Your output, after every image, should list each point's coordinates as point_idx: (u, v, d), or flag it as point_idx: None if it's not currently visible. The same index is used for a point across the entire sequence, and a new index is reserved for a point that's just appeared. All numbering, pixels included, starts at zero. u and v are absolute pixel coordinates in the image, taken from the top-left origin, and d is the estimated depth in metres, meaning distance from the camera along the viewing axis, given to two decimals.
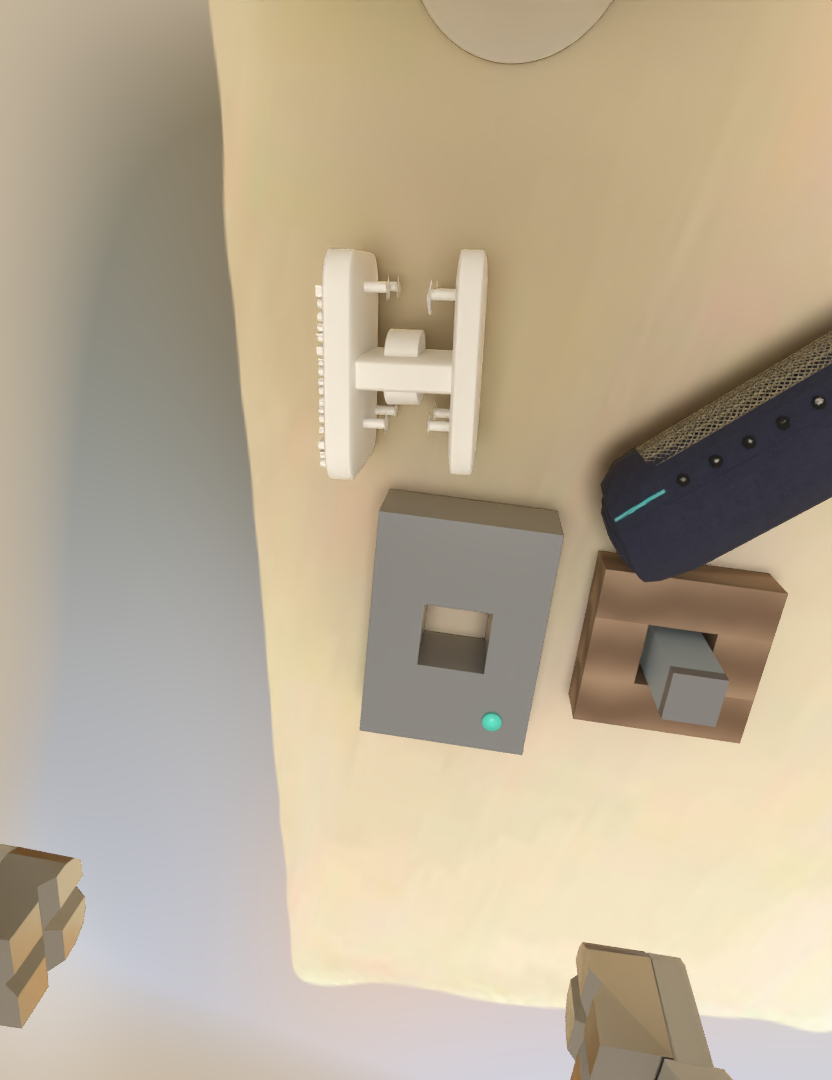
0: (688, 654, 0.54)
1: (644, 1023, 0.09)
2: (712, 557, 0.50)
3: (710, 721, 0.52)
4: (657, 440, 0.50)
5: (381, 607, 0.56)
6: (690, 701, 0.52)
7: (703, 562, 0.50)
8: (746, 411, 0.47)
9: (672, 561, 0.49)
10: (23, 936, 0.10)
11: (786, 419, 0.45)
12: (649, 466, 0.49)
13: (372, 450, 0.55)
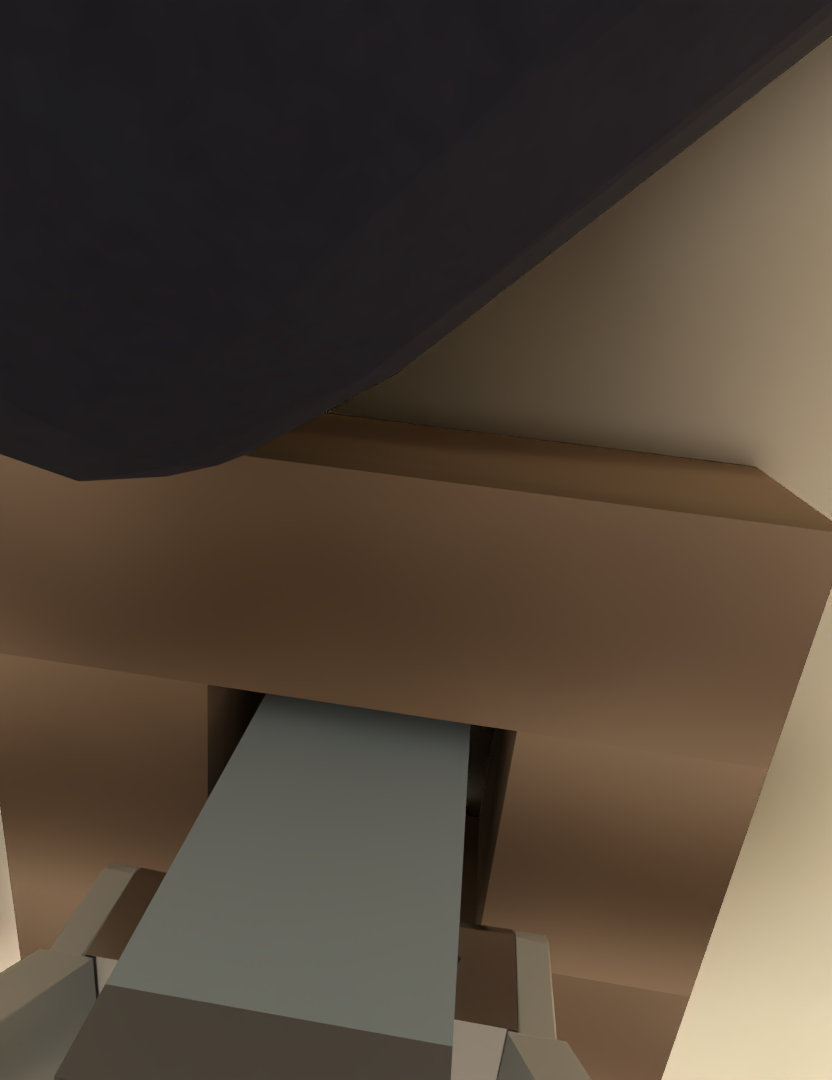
0: (313, 859, 0.10)
1: (495, 997, 0.10)
2: (369, 182, 0.06)
3: None
4: None
5: None
6: None
7: (300, 238, 0.06)
8: None
9: None
10: None
11: None
12: None
13: None
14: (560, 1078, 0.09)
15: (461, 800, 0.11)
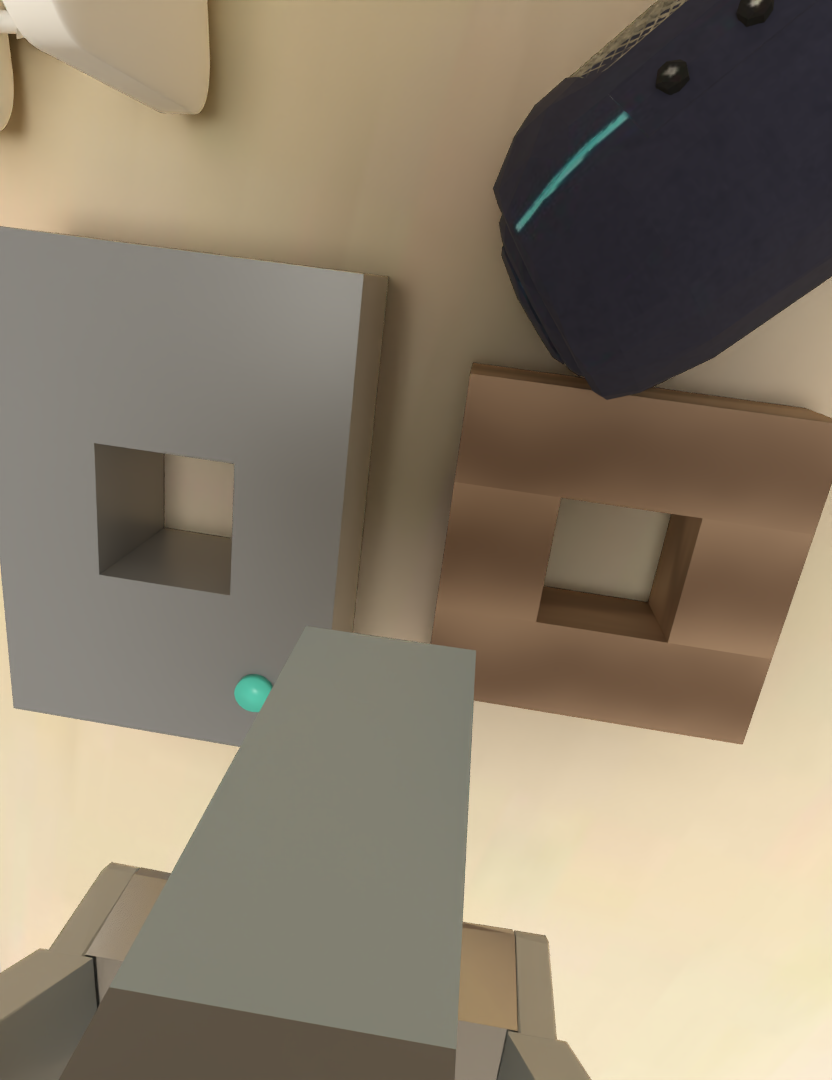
0: (316, 862, 0.10)
1: (495, 997, 0.10)
2: (754, 302, 0.21)
3: None
4: None
5: (11, 450, 0.27)
6: None
7: (732, 316, 0.21)
8: None
9: (658, 308, 0.20)
10: None
11: None
12: (589, 82, 0.20)
13: None
14: (560, 1078, 0.09)
15: (463, 802, 0.11)
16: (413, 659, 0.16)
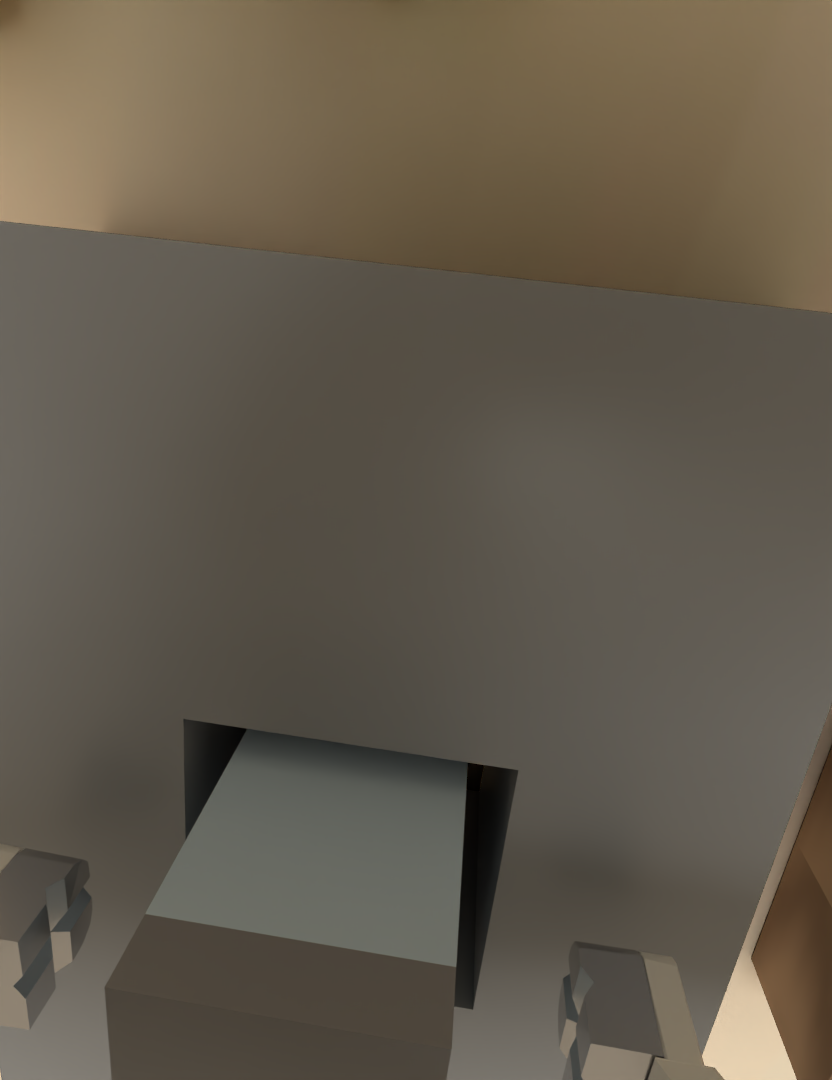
0: (328, 812, 0.11)
1: (635, 1021, 0.09)
2: None
3: None
4: None
5: None
6: None
7: None
8: None
9: None
10: (31, 937, 0.10)
11: None
12: None
13: None
14: None
15: (463, 763, 0.12)
16: None
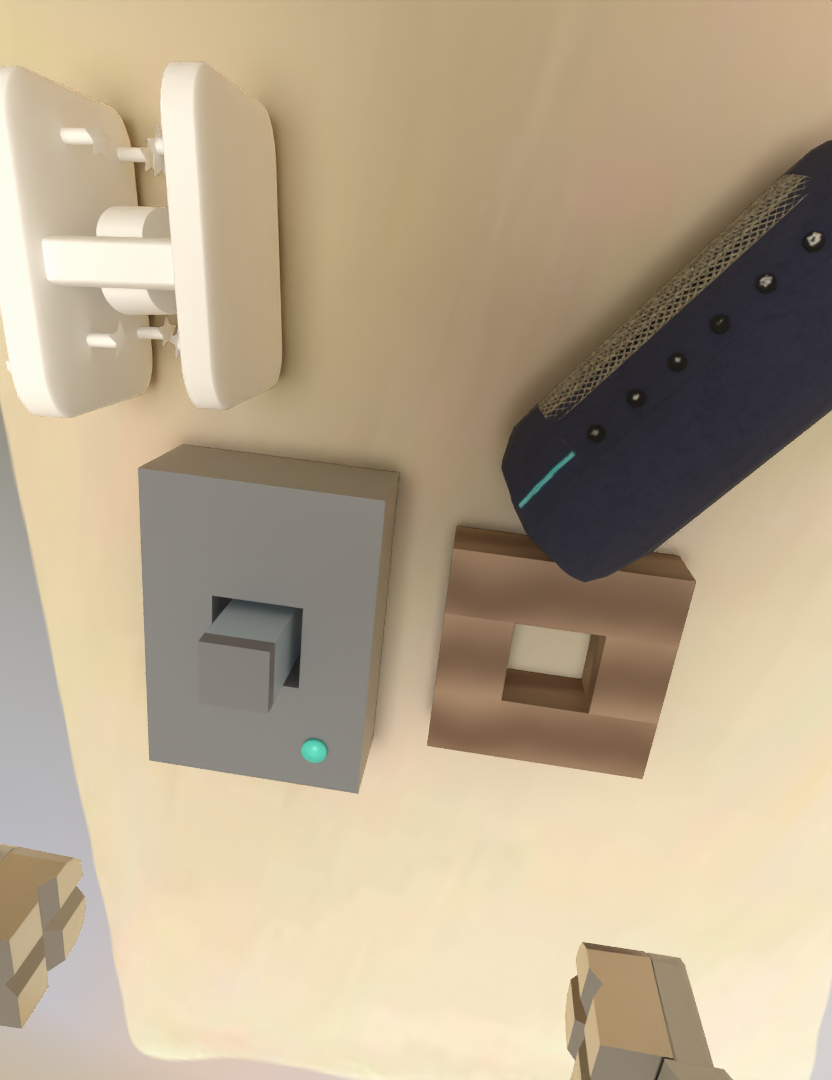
0: (251, 619, 0.41)
1: (644, 1023, 0.09)
2: (665, 534, 0.35)
3: (259, 706, 0.39)
4: (560, 386, 0.36)
5: (157, 599, 0.42)
6: (228, 679, 0.39)
7: (653, 542, 0.35)
8: (667, 319, 0.32)
9: (607, 548, 0.35)
10: (23, 936, 0.10)
11: (723, 317, 0.31)
12: (551, 423, 0.35)
13: (139, 388, 0.41)
14: None
15: (293, 611, 0.42)
16: None
